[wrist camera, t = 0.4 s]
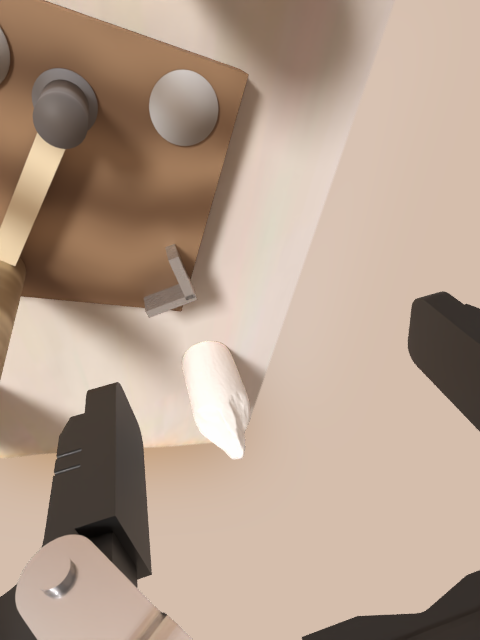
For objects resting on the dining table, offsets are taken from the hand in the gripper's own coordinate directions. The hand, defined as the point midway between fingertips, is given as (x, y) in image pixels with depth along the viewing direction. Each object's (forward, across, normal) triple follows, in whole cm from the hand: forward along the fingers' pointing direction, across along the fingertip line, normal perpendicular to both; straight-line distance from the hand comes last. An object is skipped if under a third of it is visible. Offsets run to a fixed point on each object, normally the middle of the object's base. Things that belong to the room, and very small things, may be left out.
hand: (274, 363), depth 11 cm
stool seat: (+24, +7, -1) cm, 25 cm away
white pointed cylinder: (+26, +1, +21) cm, 34 cm away
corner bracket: (+23, +3, +8) cm, 24 cm away
